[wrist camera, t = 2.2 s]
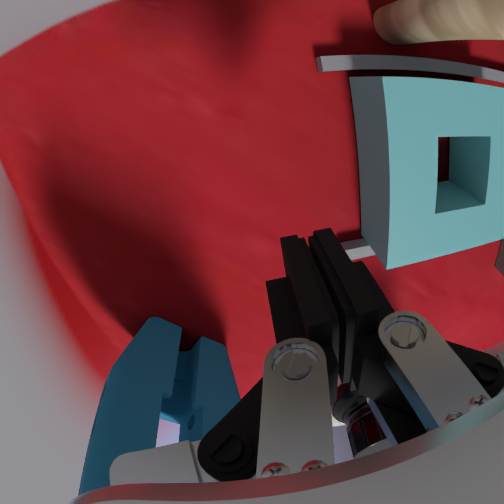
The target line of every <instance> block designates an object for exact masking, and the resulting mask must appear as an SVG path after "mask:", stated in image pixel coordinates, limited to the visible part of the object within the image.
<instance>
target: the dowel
mask: <svg viewBox="0 0 504 504" xmlns="http://www.w3.org/2000/svg"><path fill="white" fill-rule="evenodd" d="M373 24H374V27H375V30H376V31H377V33H378V34H379V36H380V37H381V38H382V39H383V40H385V41H386V42H388V43H390V44H392V45H406V44H414V43H423V42H434V41H447V40H472V39H489V40H504V0H397V1H395V2H392V3H390V4H387V5H385V6H382V7H380V8H378V9H377V10H376V11H375V13H374V16H373Z"/></svg>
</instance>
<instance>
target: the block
mask: <svg viewBox="0 0 504 504" xmlns="http://www.w3.org/2000/svg"><path fill="white" fill-rule="evenodd" d="M181 332H182V328H181V327H180V326H177V325H175V324H173V323H171V322H168V321H166V320H164V319H162V318H159V317H150V318H149V319H148V320H147V321H146V322H145V324H144V325H143V326H142V328H141V329H140V330H139V331H138V333H137V334H136V335H135V337H134V338H133V339H132V341H131V342H130V343H129V345H128V346H127V347H126V349H125V350H124V351H123V353H122V354H121V355H120V357H119V358H118V360H117V361H116V363H115V364H114V365H113V366H112V368H111V371H110V373H109V375H108V377H107V380H106V382H105V384H104V388H103V391H102V395H101V398H100V402H99V406H98V409H97V413H96V416H95V420H94V424H93V428H92V432H91V436H90V440H89V445H88V449H87V453H86V458H85V463H84V467H83V472H82V478H81V483H80V488H79V494H78V496H79V495H81V494H84V493H86V492H88V491H92V490H95V489H98V488H102V487H108V486H110V476H109V474H110V467H111V465H112V463H113V461H114V460H115V459H116V458H117V457H118V456H120V455H123V454H125V453H130V452H136V451H141V450H146V449H151V448H155V447H156V439H157V431H158V424H159V418H161V419H164V420H167V421H171V422H174V423H177V424H180V435H179V442H182V441H186V440H189V441H190V442H194V441H198V440H201V439H203V437H204V436H205V435H206V434H207V433H208V432H209V431H210V430H211V429H212V428H213V427H214V426H215V425H216V424H217V423H218V422H219V421H220V420H221V419H222V418H223V417H224V416H225V415H226V414H227V413H228V412H229V411H230V410H231V409H232V408H233V407H234V406H235V405H236V404H237V403H238V402H239V401H240V400H241V398H240V395H239V391H238V388H237V384H236V381H235V377H234V374H233V370H232V367H231V363H230V359H229V356H228V352H227V348H226V347H225V346H224V345H223V344H221V343H218V342H216V341H213V340H211V339H208V338H206V337H204V336H202V337H201V338H200V339H199V340H198V341H197V343H196V344H195V345H194V346H193V348H192V349H191V350H189V351H186V352H182V351H179V345H180V339H181Z"/></svg>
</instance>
